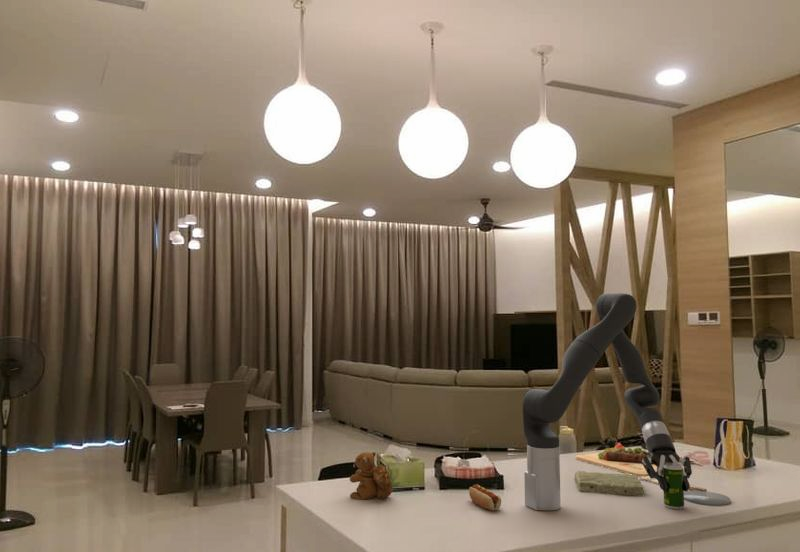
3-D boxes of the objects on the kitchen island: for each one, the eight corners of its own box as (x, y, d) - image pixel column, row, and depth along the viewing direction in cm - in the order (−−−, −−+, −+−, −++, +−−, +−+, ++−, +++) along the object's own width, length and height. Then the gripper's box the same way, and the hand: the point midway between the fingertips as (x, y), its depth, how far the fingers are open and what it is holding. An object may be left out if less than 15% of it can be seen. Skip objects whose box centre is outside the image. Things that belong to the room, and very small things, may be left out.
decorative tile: (574, 480, 215) (574, 469, 215) (636, 483, 211) (636, 472, 211) (577, 494, 197) (577, 482, 197) (646, 498, 193) (645, 486, 193)
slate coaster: (706, 507, 181) (706, 504, 181) (672, 495, 193) (672, 493, 193) (740, 502, 186) (740, 500, 186) (705, 491, 198) (705, 489, 198)
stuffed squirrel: (362, 490, 200) (363, 447, 201) (401, 496, 193) (401, 452, 194) (344, 497, 191) (344, 453, 192) (384, 504, 184) (384, 458, 185)
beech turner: (711, 492, 198) (710, 488, 198) (699, 494, 195) (698, 490, 195) (651, 477, 217) (651, 473, 217) (639, 479, 214) (639, 476, 214)
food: (465, 500, 188) (465, 483, 189) (481, 498, 190) (481, 482, 191) (487, 513, 175) (487, 495, 176) (505, 511, 177) (504, 493, 178)
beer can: (679, 504, 184) (678, 462, 185) (687, 509, 179) (686, 466, 180) (660, 504, 184) (659, 462, 185) (668, 509, 179) (667, 466, 180)
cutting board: (572, 460, 248) (572, 440, 249) (617, 455, 258) (617, 436, 258) (641, 479, 216) (640, 457, 217) (689, 473, 226) (689, 451, 227)
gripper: (637, 432, 191) (654, 482, 178) (684, 432, 191) (705, 482, 178) (631, 447, 195) (647, 497, 183) (677, 447, 195) (697, 497, 183)
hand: (676, 489), depth 180 cm, fingers closed on beer can, 5 cm apart
